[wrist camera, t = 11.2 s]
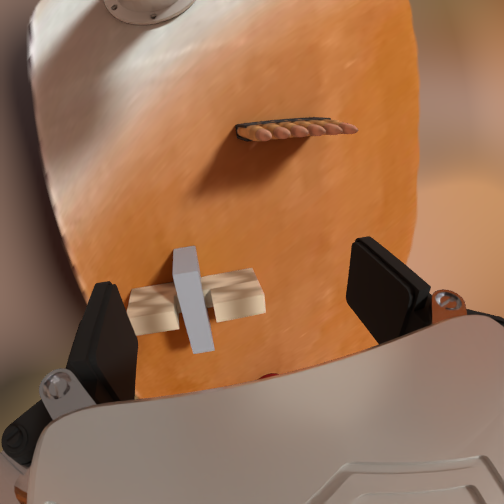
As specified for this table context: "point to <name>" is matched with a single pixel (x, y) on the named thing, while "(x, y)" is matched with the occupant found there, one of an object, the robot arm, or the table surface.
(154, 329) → the birch block
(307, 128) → the ammunition clip
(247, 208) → the table surface
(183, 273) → the grey block
